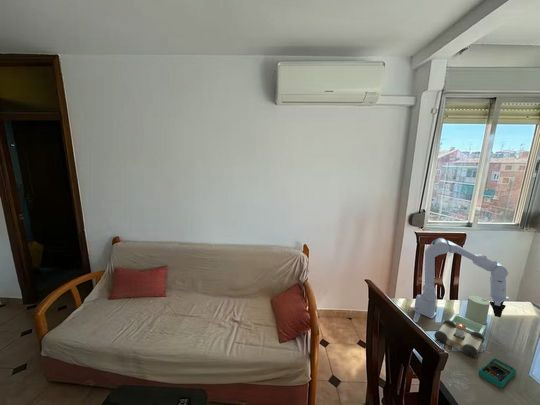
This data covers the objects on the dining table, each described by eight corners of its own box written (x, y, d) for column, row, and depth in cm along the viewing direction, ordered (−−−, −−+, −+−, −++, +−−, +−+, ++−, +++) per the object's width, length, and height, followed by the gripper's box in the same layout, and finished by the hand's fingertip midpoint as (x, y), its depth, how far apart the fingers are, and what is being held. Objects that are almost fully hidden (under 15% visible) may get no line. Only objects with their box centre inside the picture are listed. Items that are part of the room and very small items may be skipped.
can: (491, 324, 128) (495, 304, 126) (474, 324, 128) (477, 303, 126) (477, 314, 137) (480, 294, 135) (460, 313, 137) (463, 294, 136)
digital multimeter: (477, 375, 97) (478, 369, 96) (492, 362, 104) (494, 356, 103) (500, 390, 90) (502, 384, 90) (515, 375, 97) (517, 368, 97)
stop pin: (452, 341, 115) (454, 324, 114) (454, 337, 118) (456, 321, 116) (462, 346, 112) (465, 329, 111) (464, 342, 115) (467, 325, 113)
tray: (447, 327, 125) (448, 321, 125) (453, 319, 132) (454, 313, 131) (479, 341, 115) (481, 335, 115) (484, 332, 122) (485, 326, 122)
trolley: (433, 339, 116) (435, 329, 115) (443, 326, 126) (444, 318, 125) (476, 360, 104) (477, 349, 103) (483, 344, 113) (485, 335, 113)
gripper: (509, 295, 112) (509, 322, 113) (509, 284, 122) (509, 309, 123) (488, 291, 117) (488, 317, 118) (490, 280, 127) (490, 305, 128)
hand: (497, 313), depth 121 cm, fingers open, 7 cm apart
